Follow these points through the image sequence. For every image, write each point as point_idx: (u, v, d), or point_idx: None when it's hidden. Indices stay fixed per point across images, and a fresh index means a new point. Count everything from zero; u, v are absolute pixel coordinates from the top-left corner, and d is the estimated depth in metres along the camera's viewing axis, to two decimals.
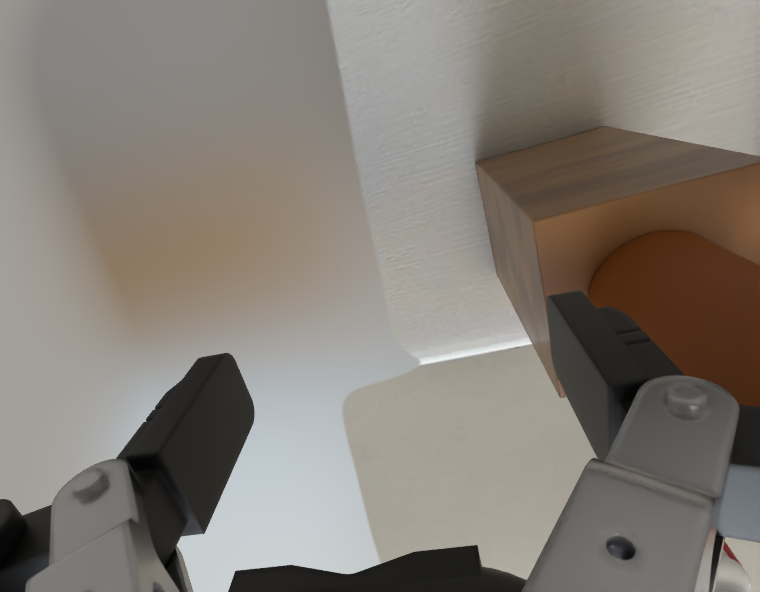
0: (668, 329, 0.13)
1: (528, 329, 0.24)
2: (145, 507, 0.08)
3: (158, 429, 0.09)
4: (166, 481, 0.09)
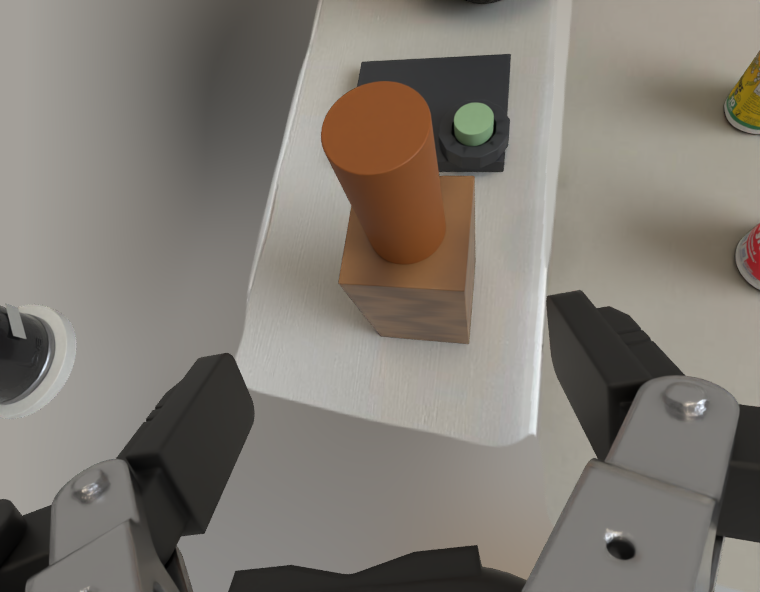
0: (360, 218, 0.25)
1: (455, 313, 0.32)
2: (145, 507, 0.08)
3: (158, 429, 0.09)
4: (166, 481, 0.09)
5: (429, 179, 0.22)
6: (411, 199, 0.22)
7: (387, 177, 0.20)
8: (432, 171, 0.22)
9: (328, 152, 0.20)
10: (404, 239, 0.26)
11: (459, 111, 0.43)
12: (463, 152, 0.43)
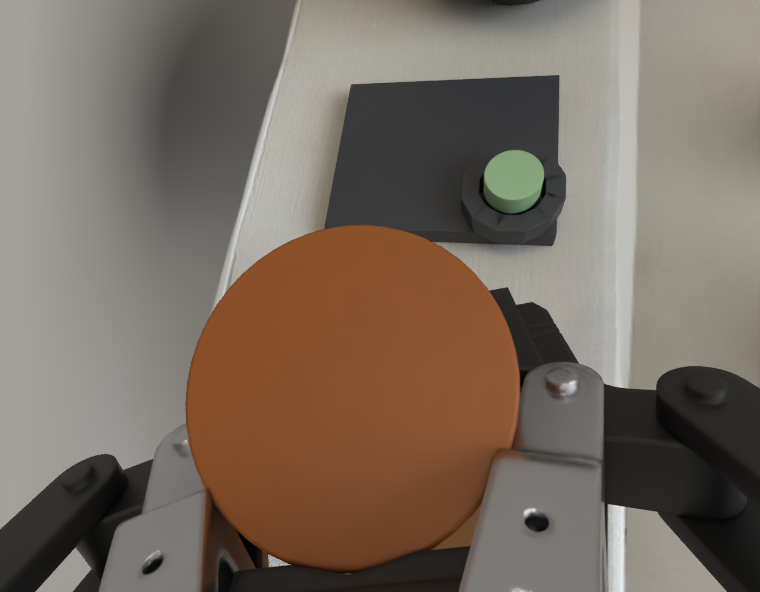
0: None
1: None
2: None
3: None
4: None
5: None
6: None
7: None
8: None
9: (200, 458, 0.07)
10: None
11: (492, 163, 0.29)
12: (498, 223, 0.29)
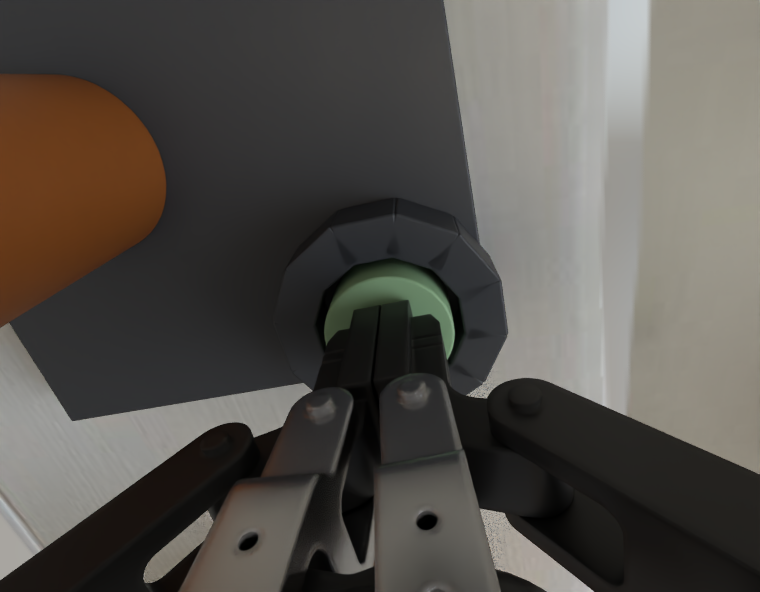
0: None
1: None
2: (366, 432, 0.09)
3: (355, 365, 0.10)
4: (372, 412, 0.09)
5: None
6: None
7: None
8: None
9: None
10: None
11: (334, 321, 0.13)
12: None
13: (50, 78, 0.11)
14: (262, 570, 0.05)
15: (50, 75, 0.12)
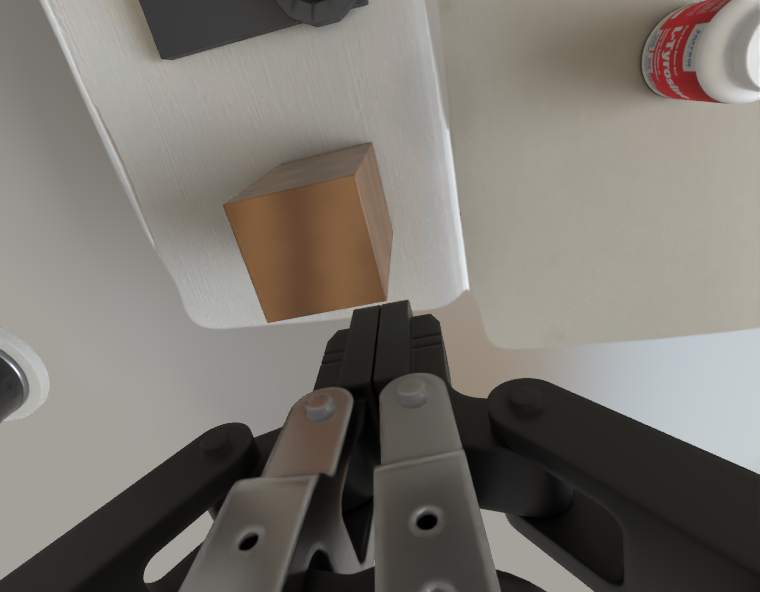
0: None
1: None
2: (366, 432, 0.09)
3: (355, 365, 0.10)
4: (372, 412, 0.09)
5: None
6: None
7: None
8: None
9: None
10: None
11: None
12: (312, 16, 0.32)
13: None
14: (262, 570, 0.05)
15: None
